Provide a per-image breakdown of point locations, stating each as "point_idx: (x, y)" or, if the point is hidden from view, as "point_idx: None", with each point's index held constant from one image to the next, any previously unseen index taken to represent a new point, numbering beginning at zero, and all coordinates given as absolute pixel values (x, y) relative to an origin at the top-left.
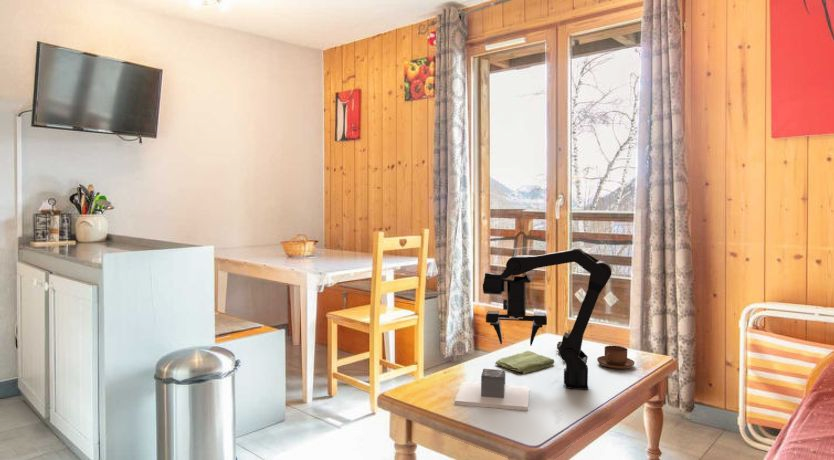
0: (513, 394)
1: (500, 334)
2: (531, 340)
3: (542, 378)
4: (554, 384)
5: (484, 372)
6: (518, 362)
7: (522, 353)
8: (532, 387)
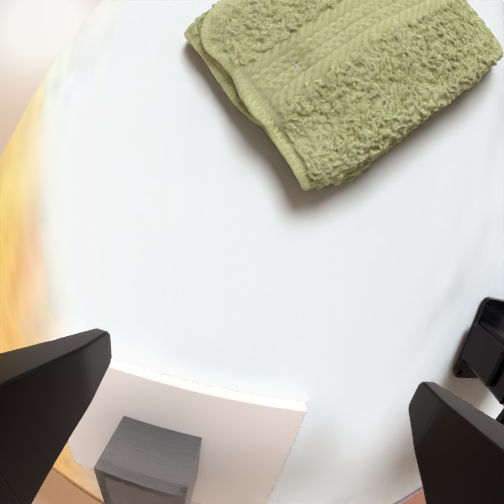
0: (229, 464)
1: (51, 461)
2: (425, 464)
3: (412, 257)
4: (432, 334)
5: (108, 494)
6: (319, 86)
7: None
8: (328, 375)
